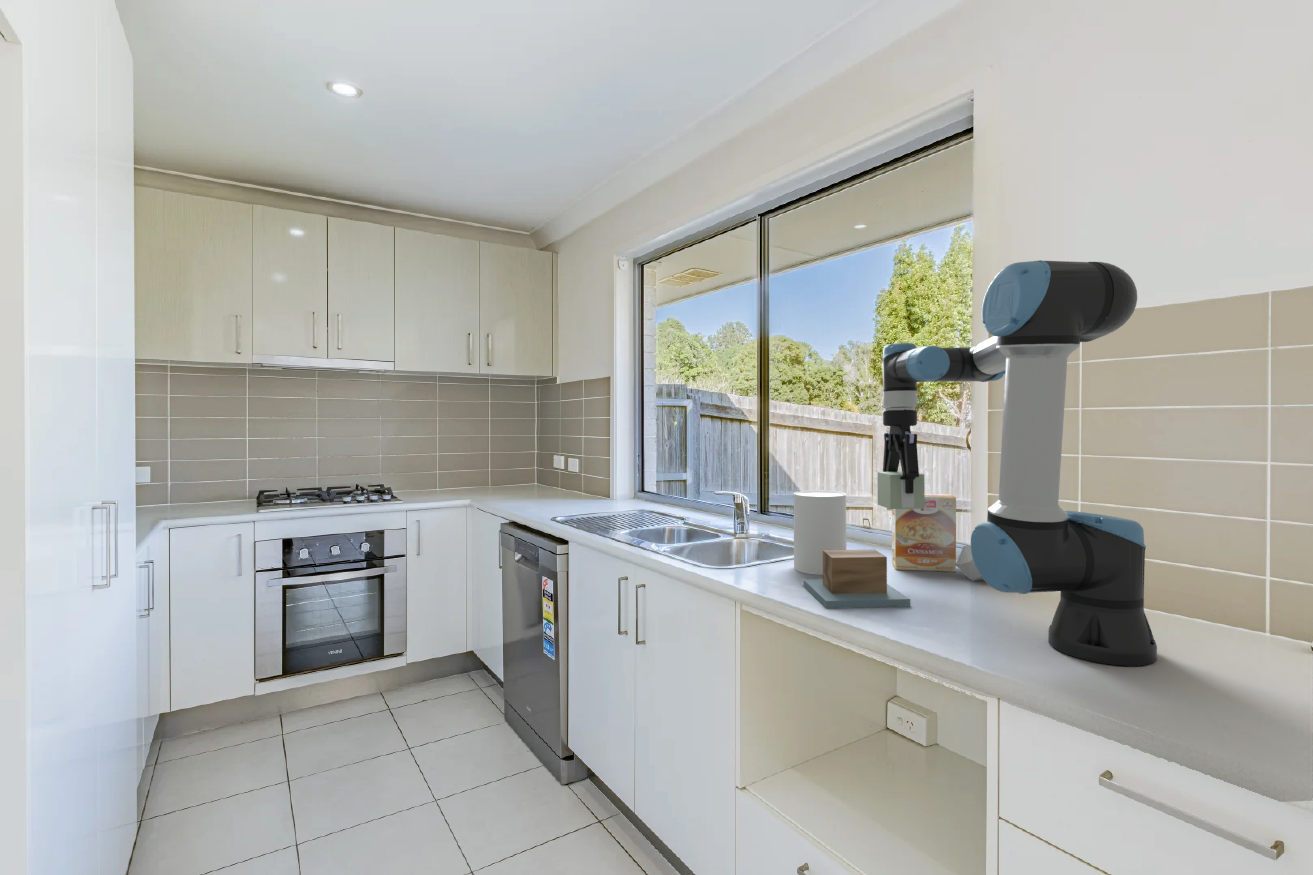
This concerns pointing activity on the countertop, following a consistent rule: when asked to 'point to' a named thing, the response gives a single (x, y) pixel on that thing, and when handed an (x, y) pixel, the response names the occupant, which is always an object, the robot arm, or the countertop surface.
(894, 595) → the base board
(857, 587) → the walnut block
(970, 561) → the die
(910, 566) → the coffeecake box
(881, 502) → the sage block
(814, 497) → the canister
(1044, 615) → the countertop surface
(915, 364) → the robot arm
